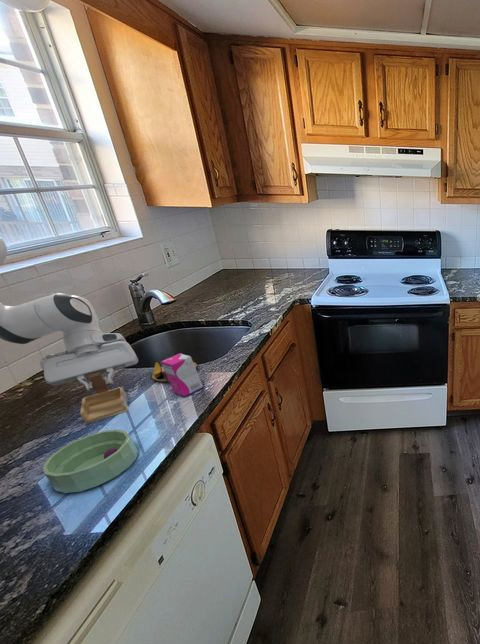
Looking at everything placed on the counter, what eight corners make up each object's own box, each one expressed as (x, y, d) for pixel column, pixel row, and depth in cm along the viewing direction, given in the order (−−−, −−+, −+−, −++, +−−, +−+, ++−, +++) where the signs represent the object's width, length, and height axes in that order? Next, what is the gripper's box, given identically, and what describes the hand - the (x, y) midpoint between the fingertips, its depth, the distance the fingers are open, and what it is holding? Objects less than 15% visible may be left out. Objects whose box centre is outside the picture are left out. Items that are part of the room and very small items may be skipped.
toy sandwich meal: (197, 360, 131) (192, 349, 129) (198, 376, 121) (194, 364, 119) (154, 371, 124) (148, 359, 122) (152, 389, 114) (146, 376, 112)
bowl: (44, 505, 75) (30, 486, 72) (67, 461, 86) (56, 443, 84) (132, 477, 81) (122, 458, 79) (143, 439, 92) (134, 422, 90)
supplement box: (192, 384, 116) (180, 352, 111) (204, 388, 114) (191, 356, 109) (173, 393, 112) (159, 360, 107) (185, 398, 109) (171, 364, 104)
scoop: (88, 404, 107) (74, 378, 104) (127, 393, 113) (114, 367, 109) (86, 424, 99) (70, 396, 95) (128, 410, 104) (114, 384, 100)
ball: (119, 458, 84) (117, 464, 85) (124, 446, 86) (122, 452, 87) (102, 457, 82) (100, 463, 84) (107, 445, 84) (105, 451, 85)
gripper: (33, 353, 101) (46, 397, 98) (126, 332, 113) (140, 371, 110) (43, 361, 106) (56, 404, 103) (132, 340, 118) (145, 378, 115)
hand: (100, 386), depth 107 cm, fingers open, 3 cm apart
